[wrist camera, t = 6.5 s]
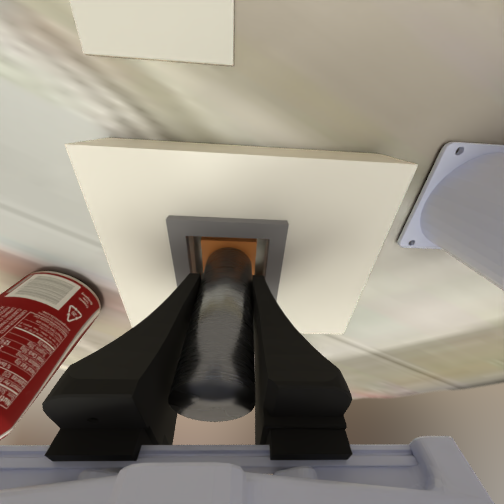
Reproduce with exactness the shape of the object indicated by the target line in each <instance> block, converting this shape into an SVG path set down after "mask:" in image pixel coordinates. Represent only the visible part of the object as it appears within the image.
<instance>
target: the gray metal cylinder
mask: <svg viewBox="0 0 504 504" xmlns="http://www.w3.org/2000/svg"><path fill="white" fill-rule="evenodd" d="M168 403H169V405H170V407H171V408H172V409H173V410H174V411H175V412H177V413H178V414H180V415H183V416H185V417H188V418H191V419H195V420H200V421H210V422H212V421H213V422H218V421H228V420H233V419H237V418H240V417H242V416H245V415H246V414H248V413H249V412H251V411H252V410H253V408H254V406H255V366H254V330H253V297H252V264H251V261H250V259H249V257H248V256H247V255H246V254H245V253H244V252H243V251H241V250H239V249H236V248H230V247H226V248H220V249H218V250H216V251H214V252H213V253H211V255H210V256H209V257H208V259H207V262H206V266H205V269H204V273H203V277H202V280H201V284H200V287H199V291H198V294H197V298H196V301H195V305H194V308H193V312H192V315H191V319H190V323H189V326H188V330H187V333H186V337H185V340H184V344H183V347H182V351H181V354H180V358H179V361H178V365H177V369H176V372H175V376H174V379H173V383H172V386H171V390H170V393H169V397H168Z"/></svg>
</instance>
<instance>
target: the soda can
mask: <svg viewBox="0 0 504 504" xmlns="http://www.w3.org/2000/svg"><path fill="white" fill-rule="evenodd" d="M100 310H101V305H100V301H99V299H98V297H97V295H96V294H95V293H94V292H93V291H92V289H90V288H89V287H88V286H87V285H86V284H84V283H83V282H81V281H79V280H78V279H76V278H73V277H71V276H69V275H66V274H63V273H59V272H53V271H39V272H34V273H31V274H29V275H27V276H26V277H24V278H23V279H21V280H20V281H19V282H17V283H16V284H14V285H13V286H12V287H10V288H9V289H7V290H6V291H5V292H3V293H2V294H1V295H0V440H1V439H3V438H4V437H6V436H7V435H8V434H9V433H10V432H11V431H12V430H13V429H14V427H15V426H16V425H17V423H18V422H19V421H20V419H21V418H22V416H23V415H24V414H25V413H26V411H27V410H28V409H29V407H30V406H31V405H32V403H33V402H34V401H35V399H36V398H37V397H38V395H39V394H40V393H41V391H42V390H43V388H44V387H45V386H46V384H47V383H48V382H49V381H50V379H51V378H52V377H53V375H54V374H55V373H56V371H57V370H58V369H59V367H60V366H61V365H62V363H63V362H64V361H65V359H66V358H67V357H68V355H69V354H70V352H71V351H72V350H73V348H74V347H75V346H76V344H77V343H78V342H79V340H80V339H81V338H82V336H83V335H84V334H85V332H86V331H87V330H88V328H89V327H90V326H91V324H92V323H93V322H94V320H95V319H96V318H97V316H98V315H99V313H100Z"/></svg>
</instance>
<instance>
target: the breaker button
mask: <svg viewBox="0 0 504 504" xmlns="http://www.w3.org/2000/svg"><path fill="white" fill-rule="evenodd" d="M226 247H230V248H236V249H239V250H241V251H243V252H244V253H245V254H246V255H247V256H248V257H249V259H250V261H251V264H252V275H254V273H255V260H256V247H257V239H253V238H227V237H202V238H201V250H202V262H203V273H204V269H205V266H206V262H207V259H208V257H209V256H210V255H211V253H213V252H214V251H216V250H218V249H220V248H226Z"/></svg>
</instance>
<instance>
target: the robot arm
mask: <svg viewBox="0 0 504 504" xmlns="http://www.w3.org/2000/svg"><path fill="white" fill-rule="evenodd" d="M458 148H459V151H458V152H457V153H456V154H455V152H456V150H457V149H458ZM411 240H412V241H411ZM410 241H411V242H410ZM409 242H410V243H409ZM397 243H398V245H399V246H401V247H404V248H430V249H443V250H444V251H446V252H447V253H449V254H450V255H452V256H453V257H455V258H456V259H458V260H459V261H460V262H462V263H463V264H465V265H466V266H468V267H469V268H471V269H472V270H474V271H475V272H477V273H478V274H480V275H481V276H483V277H484V278H486V279H487V280H489V281H490V282H492V283H493V284H494V285H496V286H497V287H499V288H500V289H502V290H503V291H504V145H497V144H482V143H466V142H449V143H447V144H445V145H444V146H443V148H442V149H441V151H440V153H439V155H438V157H437V159H436V162H435V164H434V166H433V168H432V170H431V172H430V174H429V176H428V178H427V180H426V182H425V185H424V187H423V189H422V191H421V193H420V195H419V197H418V199H417V201H416V203H415V205H414V208H413V210H412V212H411V214H410V216H409V218H408V220H407V222H406V224H405V226H404V228H403V231H402V233H401V235H400V237H399V239H398V241H397ZM200 284H201V273H189V274H188V275H187V277H186V278H185V279H184V280H183V281H182V282H181V284H180V285H179V286H178V287H177V288H176V289H175V290H174V291H173V292H172V294H171V295H170V296H169V297H168V298H167V299H166V300H165V301H164V302H163V303H162V304H161V305H160V306H159V307H158V308H156V309H155V310H154V311H153V312H152V313H151V314H150V315H149V316H147V317H146V318H145V319H144V320H142V321H141V322H140V323H139V324H137V325H136V326H135V327H133V328H132V329H130V330H129V331H128V332H126V333H125V334H123V335H122V336H120V337H119V338H117V339H116V340H114V341H113V342H111V343H109V344H108V345H106V346H105V347H103V348H101V349H99V350H98V351H96V352H94V353H92V354H91V355H89V356H87V357H85V358H83V359H81V360H79V361H78V362H76V363H74V364H72V365H70V366H69V368H68V369H67V370H66V371H65V373H64V374H63V375H62V376H61V378H60V379H59V381H58V382H57V384H56V385H55V386H54V388H53V389H52V391H51V392H50V394H49V395H48V397H47V398H46V399H45V401H44V402H43V404H42V405H43V411H44V412H45V413H46V415H47V416H48V417H49V418H50V419H51V420H52V421H54V422H55V423H56V424H57V425H58V426H59V427H60V428H61V429H60V430H59V432H58V434H57V435H56V437H55V439H54V440H53V442H52V444H51V445H32V446H31V445H22V446H21V445H20V446H19V445H0V504H494V502H493V501H492V499H491V498H490V496H489V495H488V493H487V491H486V490H485V488H484V487H483V485H482V483H481V482H480V480H479V479H478V477H477V476H476V474H475V473H474V471H473V469H472V468H471V467H470V465H469V463H468V462H467V460H466V459H465V457H464V455H463V454H462V452H461V451H460V449H459V447H458V446H457V444H456V443H455V441H454V440H453V438H452V437H450V436H421V437H418V438H415V439H413V440H412V441H411V442H410V444H409V445H350V444H349V441H348V438H347V435H346V431H345V429H346V422H345V419H344V416H343V415H344V413H345V412H346V410H347V408H348V407H349V405H350V403H351V401H352V397H351V393H350V391H349V388H348V386H347V383H346V381H345V379H344V377H343V375H342V373H341V372H340V370H339V369H338V368H337V367H336V366H335V365H334V364H332V363H331V362H330V361H329V360H327V359H326V358H325V357H324V356H322V355H321V354H320V353H319V352H318V351H317V350H316V349H315V348H314V347H313V346H312V345H311V344H310V343H309V342H308V341H307V340H306V339H305V338H304V337H303V336H302V335H301V334H300V333H299V331H298V330H297V329H296V328H295V327H294V326H293V324H292V323H291V322H290V321H289V319H288V318H287V317H286V315H285V314H284V312H283V311H282V309H281V308H280V306H279V305H278V303H277V302H276V300H275V298H274V296H273V295H272V293H271V291H270V289H269V287H268V285H267V282H266V280H265V277H264V276H263V275H252V297H253V330H254V354H255V445H172V443H173V437H174V431H175V424H176V418H177V412H175V411H174V410H173V409H172V408H171V407H170V405H169V403H168V397H169V393H170V390H171V386H172V383H173V379H174V376H175V372H176V369H177V365H178V361H179V358H180V354H181V351H182V347H183V344H184V340H185V337H186V333H187V330H188V326H189V323H190V319H191V315H192V312H193V308H194V305H195V301H196V298H197V294H198V291H199V287H200ZM269 474H273V475H269Z"/></svg>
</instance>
